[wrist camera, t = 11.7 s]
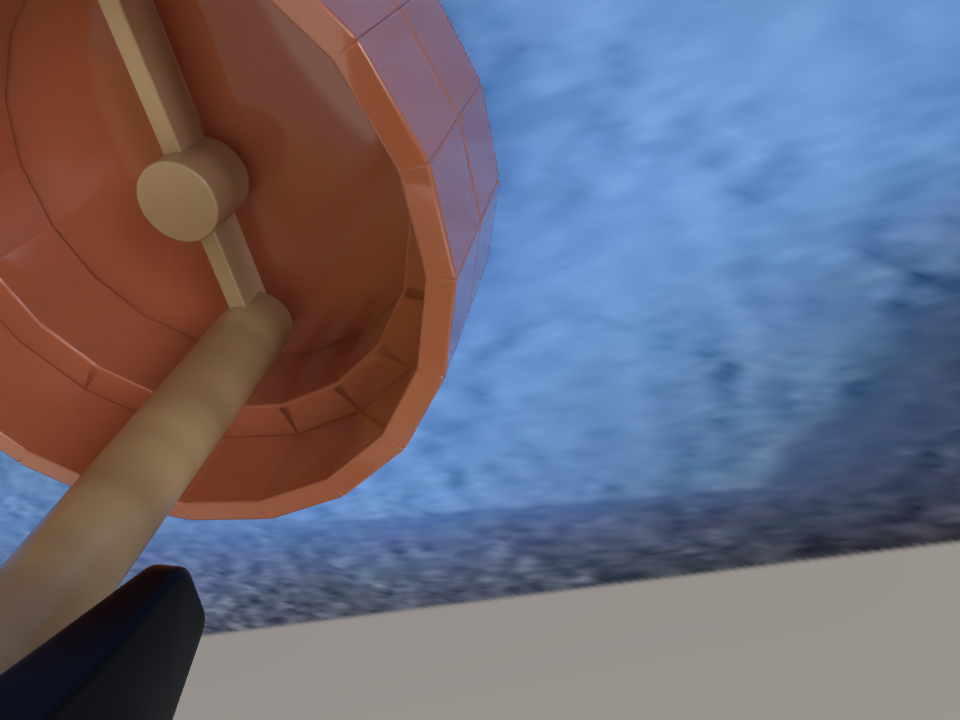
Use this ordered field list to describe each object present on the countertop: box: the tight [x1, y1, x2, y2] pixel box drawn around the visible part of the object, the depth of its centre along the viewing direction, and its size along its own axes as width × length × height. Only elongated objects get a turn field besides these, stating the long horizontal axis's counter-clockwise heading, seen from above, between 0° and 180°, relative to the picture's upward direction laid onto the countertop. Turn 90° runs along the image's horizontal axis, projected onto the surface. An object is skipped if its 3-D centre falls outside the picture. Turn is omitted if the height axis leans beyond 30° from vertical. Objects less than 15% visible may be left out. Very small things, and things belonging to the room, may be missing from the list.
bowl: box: [0, 0, 499, 520], centre depth 18 cm, size 14×14×6 cm
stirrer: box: [0, 0, 293, 674], centre depth 14 cm, size 10×2×15 cm, turn 12°
